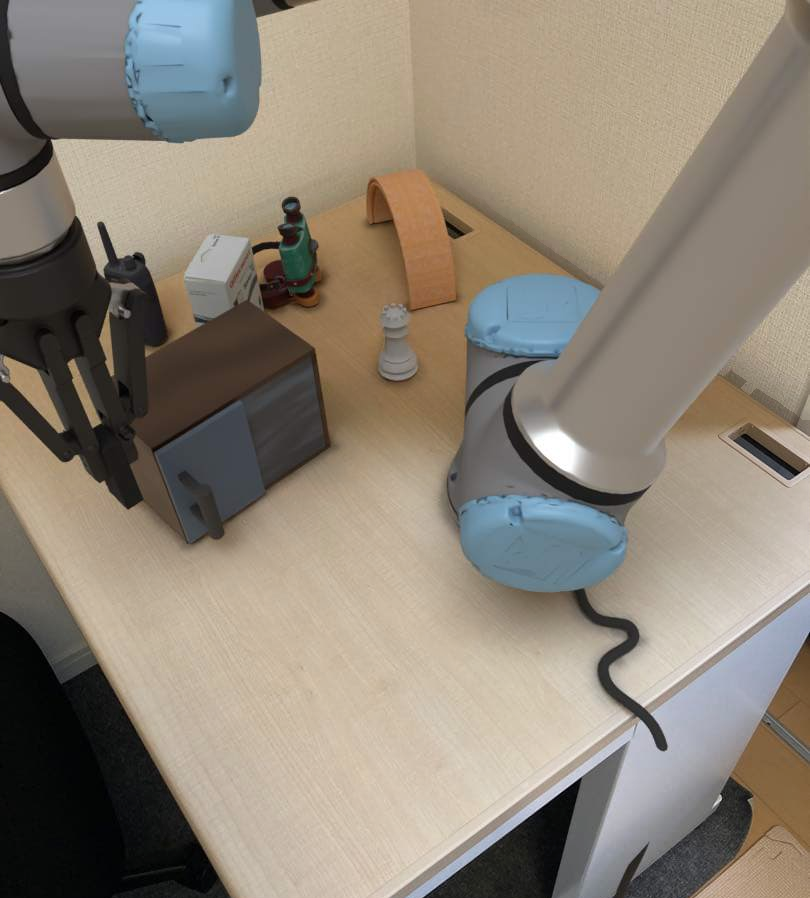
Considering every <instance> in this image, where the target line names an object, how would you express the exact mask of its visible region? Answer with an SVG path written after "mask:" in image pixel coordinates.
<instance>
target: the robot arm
mask: <svg viewBox="0 0 810 898" xmlns="http://www.w3.org/2000/svg"><path fill="white" fill-rule="evenodd" d="M318 1H320V0H0V402H2V403H3V404H4V406H6V407H7V408H8V409H9V410H10V411H11V412H12V413H13V414H14V416H16V417H17V418H18V420H20V421H21V422H22V423H23V424H24V425H25V426H26V428H28V429H29V430H30V431H31V433H33V435H35V437H37V439H38V440H40V442H41V443H42V444H43V445H44V446H45V447H46V448H47V449H48V450H49V451H50V452H51V453H52V454H53V455H54V456H55V458H57V459H58V460H59V461H60V462H61V463H64V464H65V463H69V462H71V461H72V460H73V459H74V458H75V456H78V457H79V459H80V461H81V464H82V466H83V468H84V470H85V472H87V474H88V475H90V477H91V478H92V479H93V480H94V481H96V482H97V483H98V484H101V483H103V482H104V483H105V485H106V487H107V489H108V492H109V493H110V494H111V495H112V496H113V497H114V498H115V499H116V500H117V501H118V502H119V503H120V504H121V505H122V506H123V507H124V508H125V509H126V510H127V511H129V510H131V509H132V508H134V507H135V506H137V505H138V504H141V502H144V501H143V500H144V499H143V497H142V494H141V492H140V489H139V487H138V484H137V482H136V479H135V477H134V474H133V472H132V469H131V467H130V464H132V463H133V462H135V461H137V460H138V451H137V449H136V446H135V443H134V441H133V439H134V437H135V435H136V431H135V430H134V429H133V428H132V427H131V426H130V425H131V423H132V422H133V421H134V420H135V419H136V418H143V417H145V416H146V415H147V413H148V410H149V405H148V390H147V375H146V360H145V357H146V348H145V347H146V344H144V330H143V324H144V320H145V317H146V313H147V309H148V305H149V300H150V299H149V296H148V295H147V294H146V293H145V292H143V291H142V290H141V289H139V288H138V287H137V286H136V285H134V284H133V283H132V282H131V281H129V280H128V279H126V278H121V279H119V280H118V281H117V282H116V283H110V282H108V281H107V280H106V279H105V276H102V275H101V274H100V272H99V271H98V269H97V265H96V261H95V258H94V256H93V253H92V250H91V247H90V244H89V241H88V239H87V236H86V233H85V230H84V228H83V225H82V222H81V220H80V218H79V217H78V216H77V210H76V205H75V201H74V199H73V198H74V197H73V196H72V194H71V191H70V188H69V185H68V183H67V180H66V178H65V175H64V171H63V169H62V166H61V164H60V162H59V159H58V156H57V154H56V151H55V148H54V144H53V141H58V140H97V141H98V140H99V141H138V142H139V141H140V142H141V141H142V142H143V141H144V142H166V143H168V144H184V143H185V142H186V143H187V142H189V143H192V142H194V141H197V140H206V139H221V138H234V137H237V136H240V135H242V134H244V133H246V132H247V131H248V130H249V129H250V128H251V127H252V125H254V122H255V120H256V118H257V116H258V112H259V109H260V101H261V100H260V88H261V86H262V79H263V77H262V76H263V75H262V72H263V71H262V53H261V52H262V51H261V50H262V49H261V40H260V33H259V25H258V20H257V19H258V18H262V17H265V16H269V15H273V14H276V13H277V14H278V13H280V12H285V11H288V10H293V9H295V8H296V7H299V6H303V5H308V4H311V3H314V2H318ZM52 140H53V141H52ZM809 268H810V0H785V5H784V11H783V15H781V17H780V19H779V21H778V22H777V24H776V25H775V26H774V28H773V30H772V31H771V33H770V34H769V35H768V37H767V39H766V40H765V41H764V44H763V45H762V46H761V48H760V49H759V51H758V53H757V54H756V55H755V57H754V58H753V60H752V61H751V63H750V65H749V66H748V68H747V69H746V71H745V72H744V74H743V75H742V77H741V78H740V80H739V81H738V83H737V84H736V86H735V87H734V89H733V91H732V92H731V94H730V95H729V97H728V98H727V100H726V101H725V103H724V104H723V106H722V107H721V109H720V111H719V112H718V113H717V115H716V117H715V118H714V120H713V121H712V122H711V124H710V125H709V127H708V129H707V130H706V132H705V133H704V134H703V136H702V137H701V139H700V141H699V142H698V144H697V145H696V147H695V149H694V150H693V152H692V153H691V155H690V156H689V157H688V159H687V161H686V162H685V164H683V166H682V168H681V170H680V171H679V173H678V175H677V176H676V177H675V179H674V180H673V182H672V184H671V185H670V187H669V188H668V189H667V191H666V193H665V194H664V196H663V197H662V199H661V201H660V202H659V203H658V205H657V206H656V207H655V209H654V211H653V213H652V214H651V216H649V219H648V220H647V222H646V223H645V225H644V226H643V228H642V229H641V231H640V232H639V234H638V235H637V237H635V239H634V241H633V243H632V245H631V246H630V247H629V249H628V251H627V252H626V254H624V257H623V258H622V259H621V261H620V263H619V264H618V266H617V268H616V269H615V271H614V272H613V274H612V275H611V276H610V278H609V279H608V281H607V283H606V284H605V286H604V287H603V288H602V290H600V289H599V288H597V287H595V286H594V285H591V284H589V283H587V282H584V281H581V280H580V279H577V278H575V277H571V276H567V275H562V274H555V273H525V274H519V275H512V276H509V277H506V278H503V279H500V280H499V281H498V282H495V283H491V284H489V285H487V286H486V287H485V288H483V289H481V291H479V292H478V293H477V294H476V295H475V297H473V299H472V301H471V302H470V304H469V307H468V312H467V319H466V321H467V322H466V324H465V326H464V328H463V329H464V330H463V331H464V337H465V338H466V370H465V396H464V423H463V424H464V425H463V433H462V434H463V436H462V441H461V443H460V445H459V447H458V449H457V451H456V452H455V453H456V454H454V455H455V456H454V458H452V461H451V464H450V467H449V469H448V473H447V477H446V500H447V506H448V509H449V513H450V515H451V517H452V519H453V520H454V522H455V523H456V525H457V526H458V527H459V537H460V538H459V543H460V548H461V551H462V553H463V555H464V557H465V558H466V560H467V561H468V562H470V564H471V566H472V567H473V568H474V569H475V570H476V571H477V572H478V573H480V575H482V576H484V577H486V578H488V579H489V580H491V581H493V582H495V583H497V584H500V585H504V586H506V587H509V588H512V589H517V590H521V591H527V592H535V593H558V592H572V591H573V592H574V595H575V599H576V601H577V604H578V606H579V608H580V609H581V611H582V613H583V614H584V616H586V617H587V619H589V620H590V621H591V622H593V623H595V624H596V625H600V626H601V627H607V628H614V629H615V628H616V629H621V630H624V631H626V632H627V634H628V637H627V639H625V641H623V642H621V643H620V644H618V645H617V646H615V647H613V648H611V649H610V650H608V651H607V652H606V653H605V654H603V655H602V657H601V658H600V659H599V661H598V664H597V675H598V678H599V682H600V684H601V686H602V688H603V689H604V690H605V692H607V694H608V695H610V697H611V698H613V699H614V700H615V701H616V702H618V704H620V705H621V706H622V707H624V708H626V709H627V710H628V711H629V712H631V713H632V714H634V716H636V717H637V718H638V719H639V720H640V721H641V722H643V724H644V725H645V726H646V727H647V729H648V731H649V732H650V734H651V736H652V739H653V741H654V744H655V747H656V748H657V750H659V751H660V752H666V751H668V748H669V746H668V741H667V738H666V736H665V733H664V731H663V729H662V727H661V726H660V724H659V723H658V721H657V720H656V718H655V717H654V716H653V715H652V714H651V712H649V711H648V710H647V709H646V708H645V707H644V706H642V705H641V704H640V703H639V702H637V701H636V700H634V699H633V698H632V697H630V696H629V695H628V694H626V693H625V692H624V691H622V690H621V689H620V688H619V687H618V686H617V685H616V684H615V683H614V681H613V679H612V678H611V675H610V669H609V668H610V665H612V663H613V662H615V661H616V660H618V659H619V658H621V657H622V656H624V655H626V654H628V653H629V652H631V651H632V650H633V649H634V648H635V647H637V645H638V643H639V642H640V637H641V635H640V631H639V628H638V626H637V625H636V624H635V623H634V622H633V621H631V620H629V619H627V618H623V617H614V616H608V615H603V614H600V613H598V612H597V610H595V609H594V607H593V606H592V605H591V603H590V601H589V599H588V596H587V593H586V590H585V589H586V588H589V587H593V586H594V585H597V584H599V583H602V582H603V581H605V580H607V579H608V578H610V577H612V576H613V575H614V574H615V573H616V572H617V571H618V570H619V569H620V567H621V566H622V565H623V563H624V561H625V559H626V555H627V546H628V544H629V542H630V535H629V531H628V530H627V528H626V525H625V524H626V519H627V516H628V513H629V512H630V510H631V509H632V508H633V507H634V506H635V504H636V503H638V501H639V500H640V499H641V498H642V497H643V495H644V494H646V492H647V491H648V490H649V489H650V488H651V487H652V486H653V485H654V483H655V482H656V481H657V480H658V479H659V477H660V475H661V474H662V472H663V471H664V469H665V466H666V463H667V445H666V441H665V436H666V435H667V433H668V432H669V431H670V430H671V429H672V427H674V426H675V424H676V423H677V422H678V421H679V420H680V419H681V417H682V416H683V415H684V413H686V411H687V410H688V409H689V408H690V406H692V404H693V403H694V402H695V401H696V399H697V398H698V397H699V396H700V395H701V393H703V392H704V390H705V389H706V388H707V387H708V386H709V384H710V383H711V382H712V381H714V378H716V376H717V375H718V374H719V373H720V372H721V370H722V369H723V368H724V367H725V366H726V364H728V362H730V360H731V359H732V358H733V356H735V354H736V353H737V352H738V351H739V349H740V348H741V347H742V346H743V345H744V343H746V342H747V340H748V339H749V338H750V336H751V335H752V334H753V333H754V332H755V331H756V330H757V328H759V326H760V325H761V324H762V323H763V322H764V320H766V318H767V317H768V316H769V314H771V312H772V311H773V310H774V308H775V307H776V306H778V304H779V303H780V302H781V300H783V298H784V297H785V296H786V295H787V293H788V292H789V291H790V290H791V289H792V288H793V286H794V285H795V284H796V283H797V282H798V281H799V280H800V278H801V277H802V276H803V275H804V274H805V272H807V270H808V269H809ZM107 313H108V314H107ZM107 315H108V321H109V334H110V342H111V355H112V363H113V375H114V376H115V386H114V383H113V381H112V378H111V376H112V375H111V372H110V370H109V367H108V365H107V363H106V361H108V359H107V356H106V354H105V350H104V348H103V346H102V343H101V341H100V338H101V335H102V331H103V327H104V324H105V321H106V317H107ZM4 358H8V359H10V360H12V361H15V362H17V363H20V364H23V365H25V366H27V367H29V368H32V369H34V370H36V371H37V372H38V375H39V377H40V379H41V381H42V384H43V386H44V387H45V390H46V392H47V394H48V396H49V398H50V401H51V404H52V405H53V407H54V409H55V411H56V414H57V416H58V418H59V420H60V422H61V425H62V427H63V430H62V432H58V431H57V430H56V429H55V428H54V427H53V425H52V424H51V423H50V422H49V421H48V420H47V419H46V417H44V416H43V415H42V414H41V413H40V411H38V410H37V409H36V408H35V406H34V405H33V404H32V403H31V402H30V401H29V400H28V399H27V398H26V397H25V395H24V394H22V392H20V390H19V389H18V388H16V386H14V384H12V383H11V382H10V381H11V376H10V375H11V373H10V369H9V368H8V366H7V365H6V364H5V362H4ZM72 360H74V363H75V365H76V368H77V370H78V372H79V375H80V377H81V379H82V382H83V384H84V387H85V389H86V391H87V394H88V396H89V398H90V401H91V403H92V405H93V408H94V410H95V412H96V415H97V417H98V419H99V421H100V420H101V421H102V422H103V424H104V426H103V425H102V424H101V421H100V423H99V424H97V425H96V426H94V427H93V426H92V424H91V421H90V418H89V416H88V414H87V412H86V409H85V407H84V404H83V402H82V400H81V397H80V395H79V393H78V391H77V388H76V386H75V384H74V382H73V380H74V376H73V374H72V371H71V369H70V366H69V363H70V362H72ZM115 387H116V388H115ZM650 842H651V841H650V840H649V841H648V843H646V845H645V846H644V847H643V848H642V849H641V850H640V851H639V852H638V854H636V856H635V857H633V859H632V860H631V861H630V862H629V863H628V865H627V867H626V868H625V871H624V872H623V874H622V876H621V879H620V882H619V884H618V886H617V888H616V891H615V893H614V897H613V898H624V897H625V895H626V893H627V890H628V888H629V886H630V884H631V882H632V880H633V877H634V876H635V874H636V872H637V870H638V869H639V867H640V864H641V862H642V861H643V858H644V856H645V854H646V852H647V850H648V847H649V845H650Z"/></svg>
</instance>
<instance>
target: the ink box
mask: <svg viewBox="0 0 810 898" xmlns="http://www.w3.org/2000/svg"><path fill="white" fill-rule="evenodd" d="M252 247H253V246H252V243H251V238H250V237H248V236H247V237H246V236H239V235H231V234H222V233H221V234H220V233H211V234H208V235H206V236H205V238H204V240H203V241H202V242H201V245H200V247H199V249H198V250H197V252H196V253H195V254H194V257H193V258H192V260H191V262H190V263H189V264H188V266H187V269H186V270H185V272H184V275H183V282H184V285H185V290H186V293H187V296H188V301H189V305H190V308H191V312H192V316H193V319H194V323H195V326H196V328H198V327H200V326H201V325H203V324H205V323H207V322H208V321H210V320H212V319H214V318H215V317H217V316H219V315H221V314H222V313H224V312H226V311H228V310H230V309H231V308H233V307H235V306H237V305H238V304H240V303H242V302H244V301H245V300H248V301H250V302H251V303H253V304H254V305H255V306H257V307H258V308H260V309H261V310H262V311H264V312H265V308H264V307H265V306H263V302H262V297H261V292H260V287H259V284H260V283H259V279H258V272H257V268H256V263H255V258H254V255H253V252H252Z"/></svg>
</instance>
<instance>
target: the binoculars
mask: <svg viewBox="0 0 810 898" xmlns="http://www.w3.org/2000/svg"><path fill="white" fill-rule="evenodd" d="M301 208H302V207H301V202H300V199H299V198H298V197H296V196H288V197H286V198H284V199H283V200H282V202H281V209H282V212H283V213H284V214H285V215H284V217H283V223H282V224H279V225H278V226H277V227H276V228H277V230H278V232H279V235H280V236H281V237H282V238H281V241H279V240H276V241H263V242H259V243H257V244H255V245H253V246H251V247H252V252H253V256H255V255H256V254H258V253H260V252H262V251H266V250H278V251H279V257H280V259H276V260H273V261H270V262H268V264H266V265H265V266H264V267H263V271H262V274H263V277H264V279H265V281H266V283H265V282H264V283H259V287H260V292H261V297H262V302H263V307H266V308H267V307H269V308H271V307H276V306H279V305H281V304H283V303H285V302H287V301H288V300H294V301H295V302H296V303H297V304H299V305H300V306H303V307H313V306H315V305H317V304H318V303H319V302H320V297H319V293H318V292H319V291H318V290H317V289H316V287H313V286H314V283H318V282H320V281H321V280H322V278H323V277H322V276H323V274H322V270H321V267H320V266H319V265H318V257H317V255H318V253H317V251H318V249H319V243H318V240H317V239H314V238H312V235H311V232H310V228H309V226H308V221H307V219H306V217H305V214H304V213H303V212H301Z"/></svg>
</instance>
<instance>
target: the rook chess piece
mask: <svg viewBox="0 0 810 898" xmlns="http://www.w3.org/2000/svg"><path fill="white" fill-rule="evenodd" d="M378 320H379V324H381V325H382V329H381V330H382V334H383V335H384V342H383V348H382V349H381V352H380V353H379V356H378V359H377V364H378V365H377V369H378V372H379V373H380V375H381V376H382V377H383V378H384V379H386V380H389V381H391V382H402V381H406V380H409V379H411V378H412V377H413V376H414V375H415V374H416V373H417V371H418V369H419V362H418V357H417V353H416V352H415V351H414V349H413V347H412V346H411V345H410V342H409V338H408V334H409V331H410V327H409V326H408V324H409V322H410V321H411V314H410V312H408V311H407V307H404V305H403V304H402V303H399V304H398V306H396V302H392V303H390V307H389V306H388V305H387V304H386V305H385V306H383V309H382V310H381V313H380V315H379V318H378Z"/></svg>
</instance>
